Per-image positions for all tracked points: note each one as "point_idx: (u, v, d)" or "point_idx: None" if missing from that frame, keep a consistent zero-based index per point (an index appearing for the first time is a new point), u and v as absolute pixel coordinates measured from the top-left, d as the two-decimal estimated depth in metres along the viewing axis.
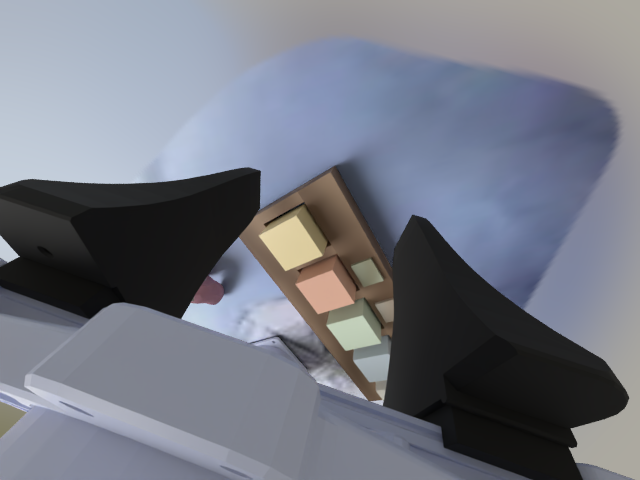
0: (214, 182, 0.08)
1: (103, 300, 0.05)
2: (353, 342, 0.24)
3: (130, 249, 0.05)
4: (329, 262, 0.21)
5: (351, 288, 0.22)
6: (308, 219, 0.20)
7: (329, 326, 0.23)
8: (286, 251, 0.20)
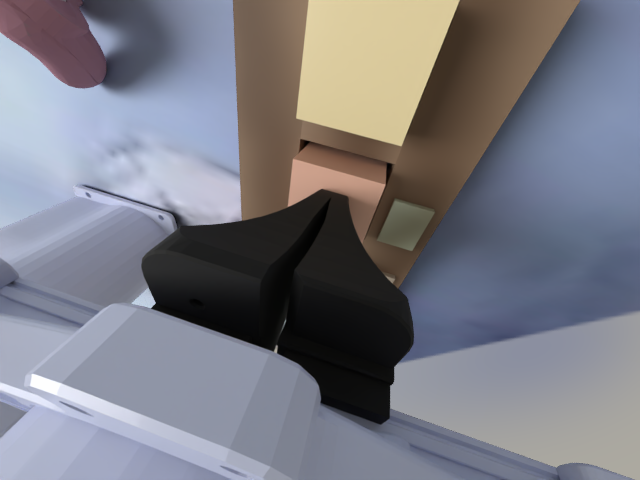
0: (310, 210, 0.08)
1: None
2: None
3: (273, 296, 0.05)
4: (373, 167, 0.11)
5: None
6: None
7: None
8: (340, 71, 0.07)
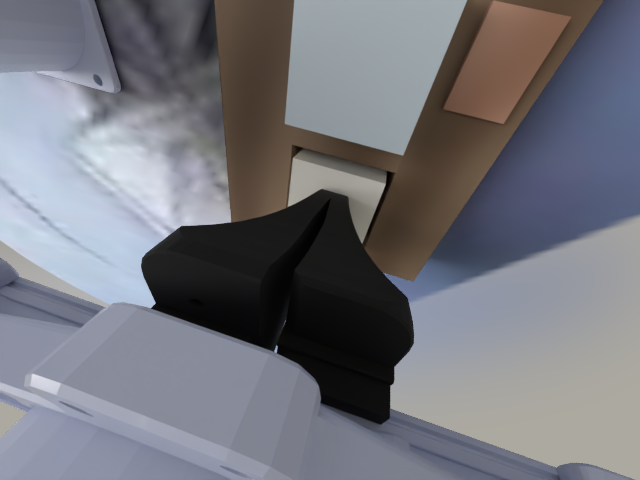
0: (310, 210, 0.08)
1: None
2: None
3: (273, 296, 0.05)
4: None
5: None
6: None
7: None
8: None
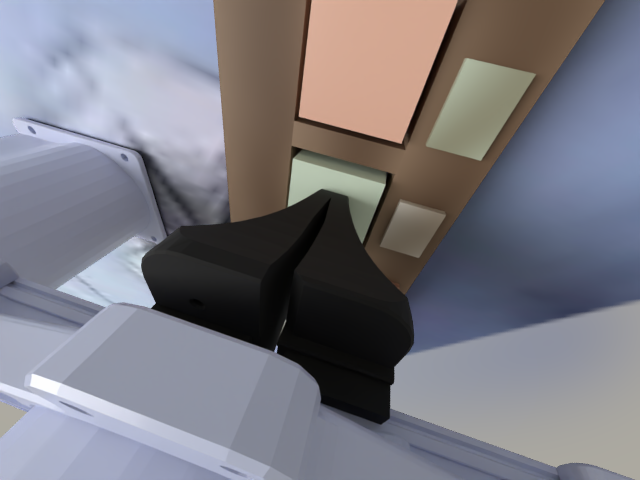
0: (310, 210, 0.08)
1: None
2: None
3: (273, 296, 0.05)
4: None
5: None
6: None
7: (297, 165, 0.10)
8: None
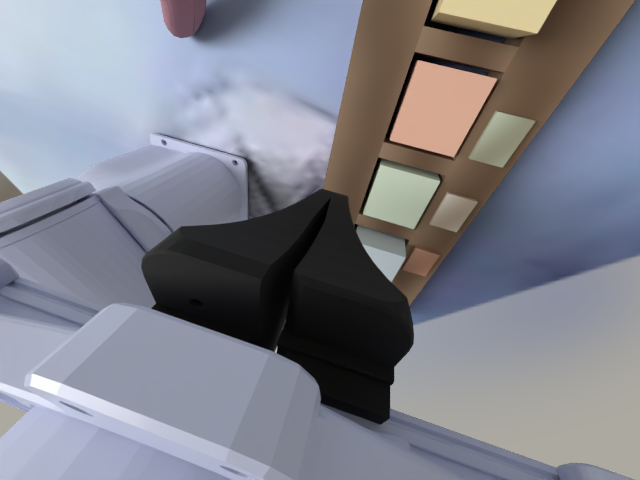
0: (310, 210, 0.08)
1: None
2: (384, 209, 0.17)
3: (273, 296, 0.05)
4: None
5: None
6: None
7: (382, 169, 0.16)
8: None
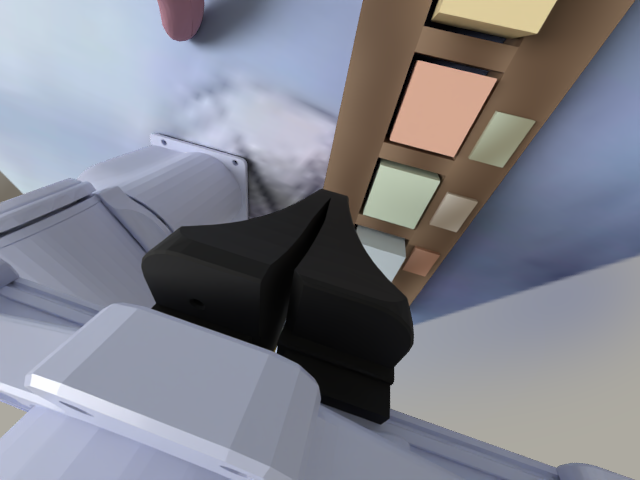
0: (310, 210, 0.08)
1: None
2: (384, 209, 0.17)
3: (273, 296, 0.05)
4: None
5: None
6: None
7: (382, 169, 0.16)
8: None
